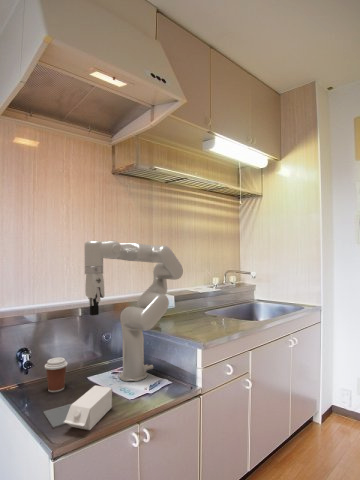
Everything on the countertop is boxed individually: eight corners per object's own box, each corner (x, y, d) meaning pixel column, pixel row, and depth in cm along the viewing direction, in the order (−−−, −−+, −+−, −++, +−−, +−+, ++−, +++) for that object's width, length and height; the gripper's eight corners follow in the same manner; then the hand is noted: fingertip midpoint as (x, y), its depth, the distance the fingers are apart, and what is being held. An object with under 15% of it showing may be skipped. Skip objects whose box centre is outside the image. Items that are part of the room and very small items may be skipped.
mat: (89, 399, 126) (89, 398, 126) (102, 412, 116) (102, 411, 116) (43, 412, 116) (43, 411, 116) (53, 428, 106) (53, 426, 106)
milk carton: (112, 407, 119) (82, 437, 101) (94, 404, 121) (63, 433, 103) (112, 387, 119) (83, 414, 101) (95, 385, 121) (63, 411, 102)
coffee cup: (47, 395, 131) (47, 365, 131) (42, 388, 138) (42, 359, 138) (70, 389, 136) (70, 360, 136) (64, 382, 143) (64, 355, 144)
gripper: (109, 270, 132) (110, 316, 132) (95, 269, 144) (96, 311, 144) (91, 271, 128) (92, 318, 127) (79, 270, 140) (79, 313, 139)
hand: (94, 314), depth 136 cm, fingers closed
